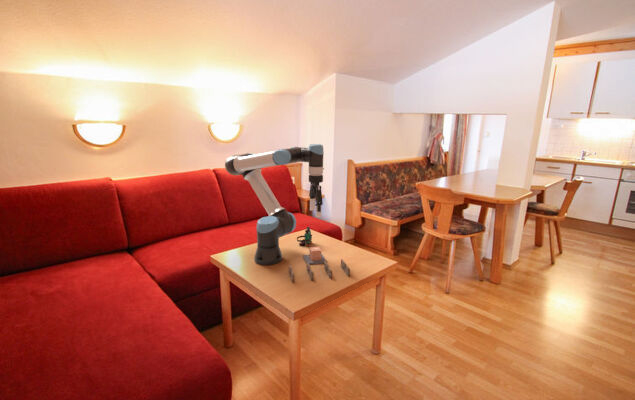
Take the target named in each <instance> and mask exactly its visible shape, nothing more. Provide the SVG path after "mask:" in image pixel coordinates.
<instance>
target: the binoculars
mask: <svg viewBox="0 0 635 400" xmlns="http://www.w3.org/2000/svg"><path fill="white" fill-rule="evenodd" d="M304 232H305V233H304V234H303V235H300V236H297V237H296V241H297V243H298V242H299V244H298V245H299V246H306V247H311V244H313V241H312V239H313V234H312V231H311V227H310V226H307V227H306V229H305V230H304ZM300 238H303V239H302V240H300Z"/></svg>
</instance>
